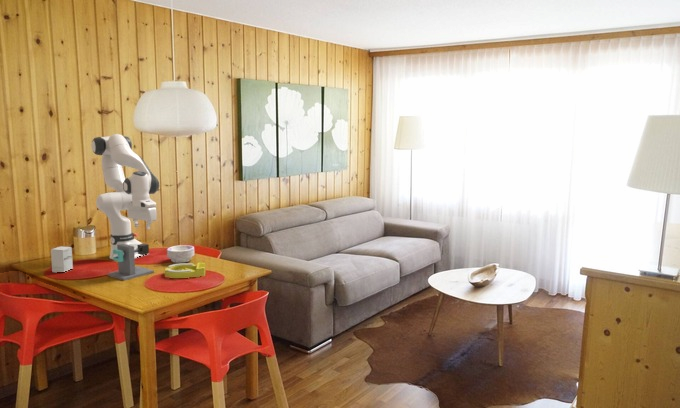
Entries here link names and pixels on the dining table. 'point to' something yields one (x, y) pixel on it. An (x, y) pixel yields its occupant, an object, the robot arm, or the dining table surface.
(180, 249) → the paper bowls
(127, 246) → the bearing stand
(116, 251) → the teal flat block
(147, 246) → the shaft
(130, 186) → the robot arm
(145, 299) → the dining table surface
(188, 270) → the ashtray
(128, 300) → the dining table surface
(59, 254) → the supplement box
